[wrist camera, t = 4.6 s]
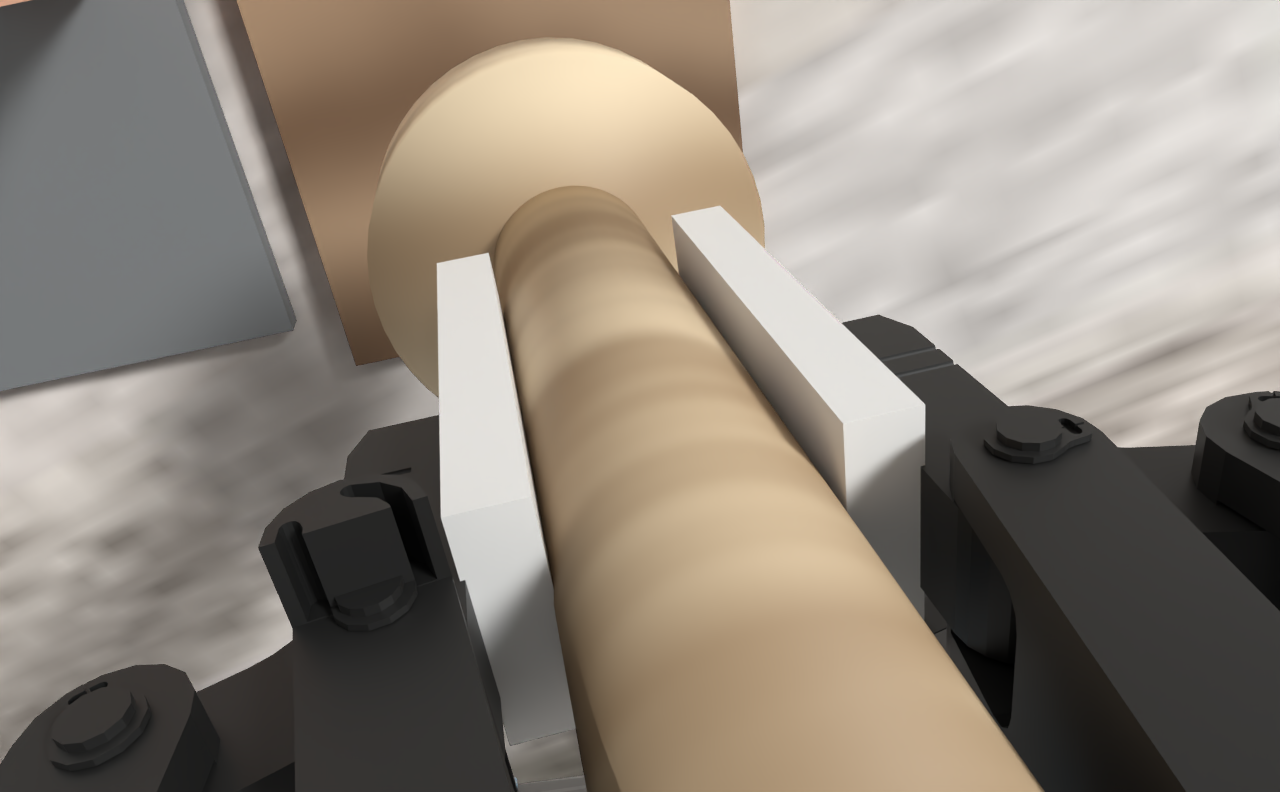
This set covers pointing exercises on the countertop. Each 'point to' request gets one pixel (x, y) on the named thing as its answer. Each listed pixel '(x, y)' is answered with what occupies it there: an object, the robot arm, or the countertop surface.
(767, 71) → the countertop surface
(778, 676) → the masher
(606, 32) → the board
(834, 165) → the countertop surface
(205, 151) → the mat
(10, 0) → the tile
